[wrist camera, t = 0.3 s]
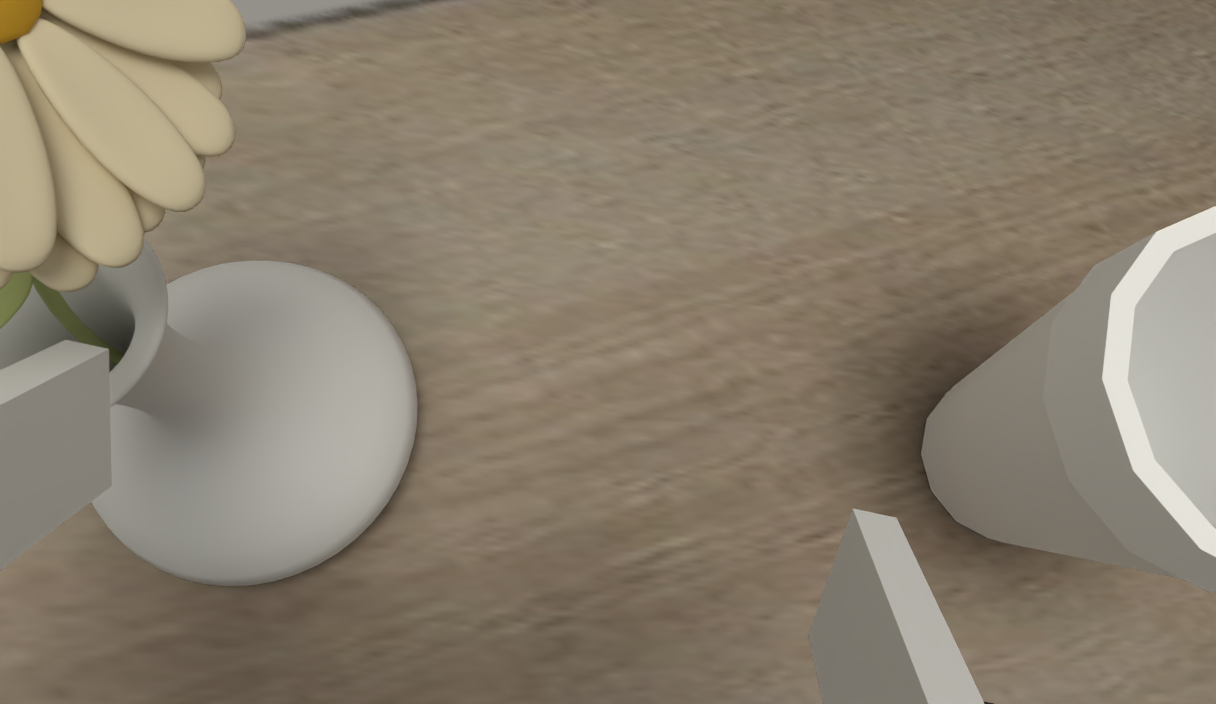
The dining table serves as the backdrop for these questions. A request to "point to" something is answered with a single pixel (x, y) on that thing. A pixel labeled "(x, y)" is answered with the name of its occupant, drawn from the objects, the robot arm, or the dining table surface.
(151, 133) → the flower in vase
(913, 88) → the dining table surface
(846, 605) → the robot arm
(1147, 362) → the foam cup
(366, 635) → the dining table surface
